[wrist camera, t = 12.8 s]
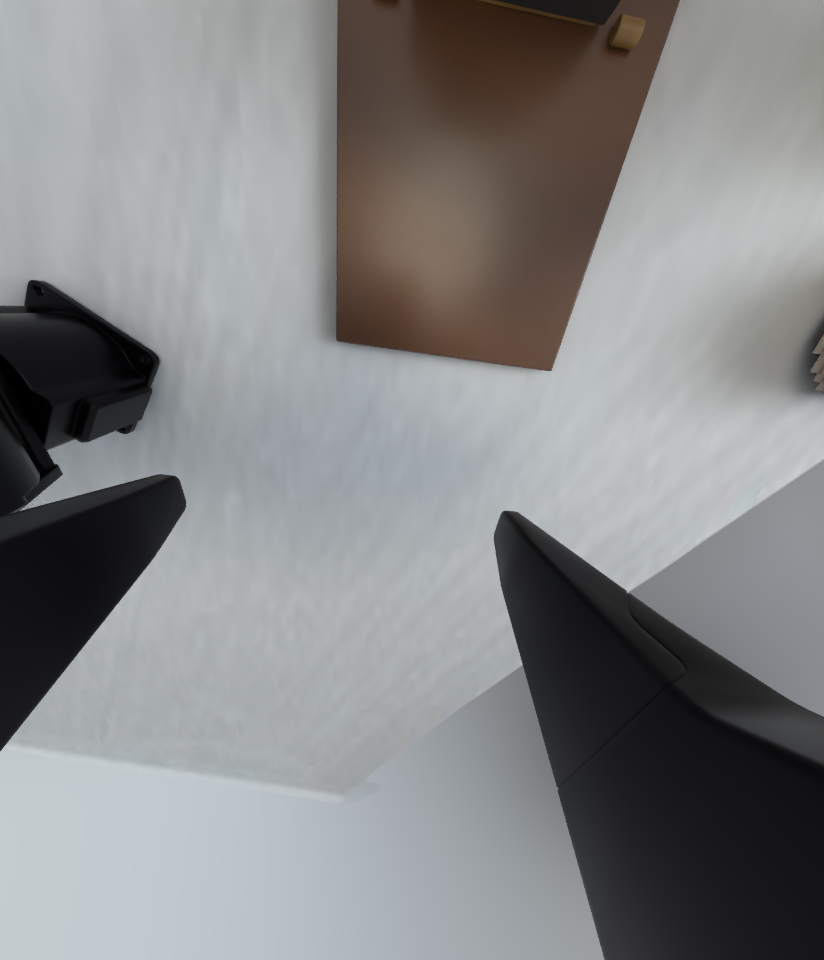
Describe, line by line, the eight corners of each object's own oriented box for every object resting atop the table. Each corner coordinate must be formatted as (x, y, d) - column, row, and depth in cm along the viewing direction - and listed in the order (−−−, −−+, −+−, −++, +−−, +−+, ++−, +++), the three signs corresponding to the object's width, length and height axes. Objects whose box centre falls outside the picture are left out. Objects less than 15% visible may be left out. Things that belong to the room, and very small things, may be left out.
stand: (344, -202, 10) (333, -287, 9) (704, -105, 11) (748, -167, 9) (339, 339, 18) (333, 342, 17) (545, 368, 19) (556, 373, 18)
